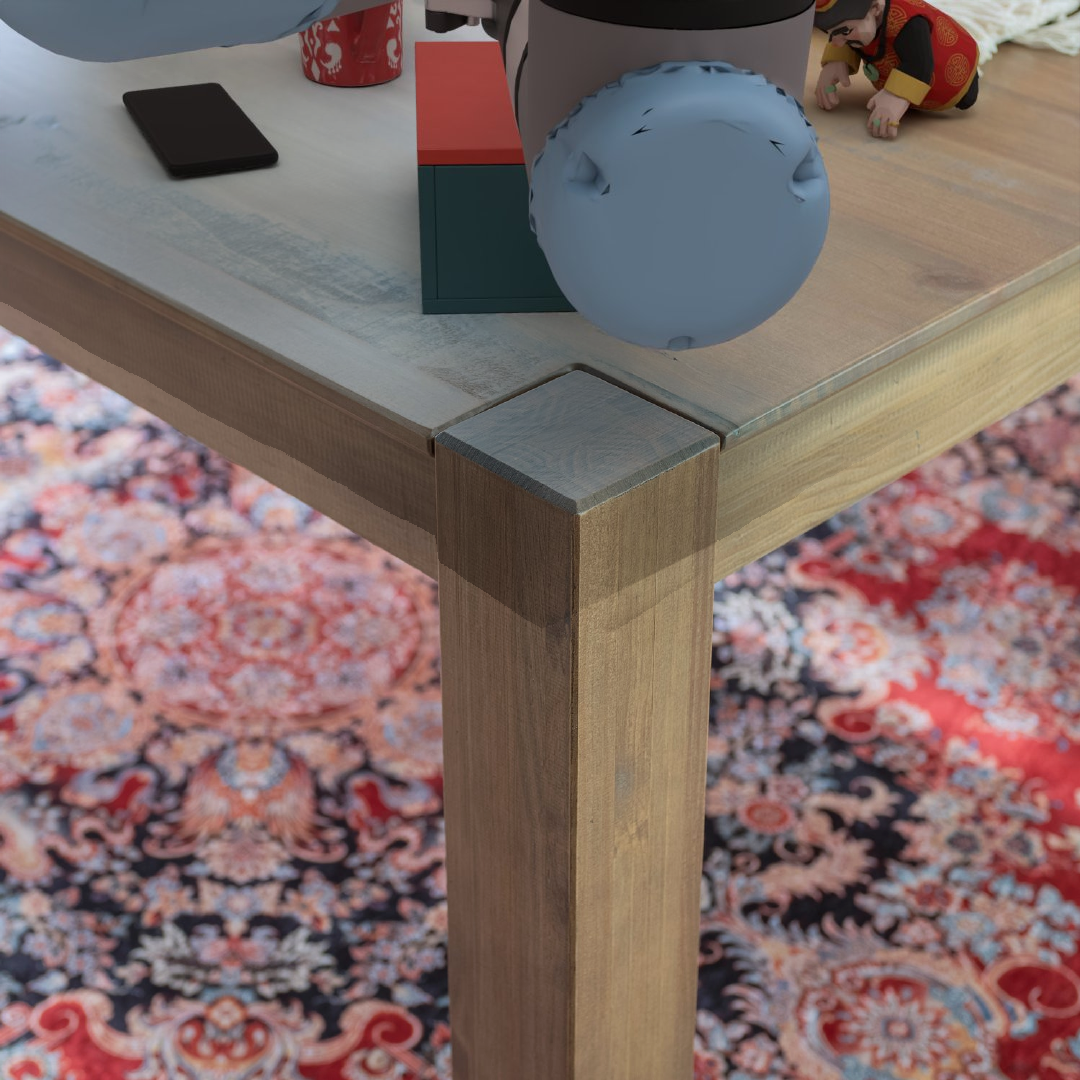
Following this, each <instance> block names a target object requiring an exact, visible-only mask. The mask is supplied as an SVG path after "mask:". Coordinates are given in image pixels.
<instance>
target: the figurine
mask: <svg viewBox="0 0 1080 1080" xmlns="http://www.w3.org/2000/svg"><path fill="white" fill-rule="evenodd" d="M813 26H815V27H816V28H817V29H818V30H820V31H821V32H823V33H824V34H826V35H829V37H828V42H827V43H826V44H825V46H824V49H823V54H822V56H821V59H820V66H821V68H822V69H821V71H820V72H819V76H818V79H817V82H816V86H815V89H814V96H815V99H816V103H817V105H819V107H820V108H821V109H826V110H827V111H830V110H832V109H834V108H836V105H838V104H839V103H840V100H839V97H838V94H837V92H838V90H837V89H838V88H837V84H839V83H840V86H841V87H843V88H844V89H845V88H850V86H851V80H850V76H854V75H857V74H858V73H859V71H860V66H861V62H862V64H863V65H862V66H861V67H862V71H863V75H864V76H865V77H866V78H867V79H868V80H869V81H870V83H871V85H872V86H873V88H874V89H875V90H876V91H877V93H876V94H874V95H873V96H872V97H871V99H869V100H868V102H867V104H866V109H868V110H870V111H872V112H871V113H870V116H869V117H868V118H869V119H868V121H867V125H866V126H867V127H866V128H867V130H869V131H872V132H871V135H872V137H876V138H878V137H881V138H883V139H884V138H887V137H890V138H892V139H893V138H895V137H896V136H897V135H898V128H899V126H900V122H899V121H900V120H901V118H902V117H903V115H904V114H905V112H907V110H908V108H909V109H913V110H920V111H926V112H933V113H934V112H944V111H946V110H949V109H952V108H953V107H954V108H955V109H959V110H960V111H966V110H968V109H970V108H971V107H973V106H974V105H975V104H976V102H977V101H978V100H977V99H978V95H979V92H980V91H979V89H980V87H979V80H980V75H979V69H978V67H979V62H980V55H981V52H980V48H979V44H978V42H977V41H976V40H975V38H974V37H973V36H972V35H971V34H970V33H969V31H968V30H967V29H966V28H965V27H963V26H962V25H961V23H959V22H958V21H956V20H955V18H953V17H952V16H951V15H949V14H948V13H945V12H944V11H942V10H941V9H939V8H937V7H936V6H933V5H932V4H930V3H929V2H927V1H925V0H816V6H815V14H814V22H813Z"/></svg>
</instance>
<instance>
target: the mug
mask: <svg viewBox="0 0 1080 1080" xmlns="http://www.w3.org/2000/svg"><path fill="white" fill-rule="evenodd" d="M403 11H404V2H403V0H398V1H394V2H391V3H387V4H383V5H380V6H376V7H372V8H369V9H365V10H361V11H358V12H354V13H350V14H347V15H343V16H339V17H336V18H332V19H328V20H325V21H321V22H317V23H314V24H313V25H312V26H311V27H310V28H309V29H308V30H306V31H302V32H299V33H298V39H299V48H300V57H301V65H302V69H303V72H304V73H303V74H304V75H305V77H307V78H308V79H309V80H312V81H314V82H317V83H320V84H323V85H328V86H329V85H330V86H337V87H361V86H371V85H376V84H382V83H386V82H388V81H391V80H394V79H395V78H397V77H398V76H400V74H401V73H402V71H403V58H404V52H403V46H404V45H403V15H404V13H403Z"/></svg>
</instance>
